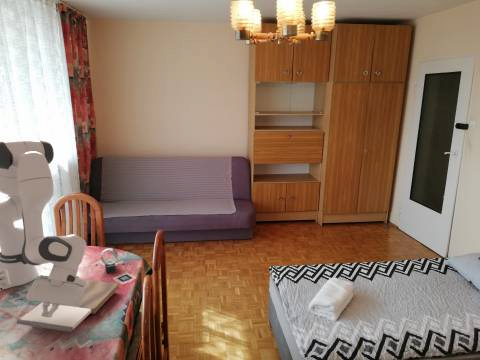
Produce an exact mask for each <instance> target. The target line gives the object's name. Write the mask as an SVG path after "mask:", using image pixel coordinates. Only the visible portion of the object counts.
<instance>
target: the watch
mask: <svg viewBox="0 0 480 360" xmlns="http://www.w3.org/2000/svg"><path fill="white" fill-rule="evenodd" d="M108 251H109V252H110V253H111V255H112V256H113V257H114V258H115V259H114V260H110V261H106V259H104V257H103V254H104V253H106V252H108ZM118 259H119V254H118V252H117V251H116V249H115V248H114V247H108V248H107V247H106V248H105V249H103V250H102V251H101V253H100V260H101V262H102V263H103V264H104V268H105V273H106V274H109V273H115V272H116V262H118Z"/></svg>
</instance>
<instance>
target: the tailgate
mask: <svg viewBox="0 0 480 360" xmlns="http://www.w3.org/2000/svg"><path fill="white" fill-rule="evenodd" d="M42 305H43V302H40V303H39V304H38V305H37V306H35V307H34V308H33V309H31V310H30V311H28V312H27V313H26V314H24V315H23V316H21V317H20V318H18V319H17V320H16V324H17V325H21V326H29V327H35V328H43V329H49V330H56V331H61V332H68V333H71V332H72V331H73V330H74V329H76V328H77V326H78V325H79V324H81V322H83V321H84V320H85V319H86V318H87V317H88V316H89V315H91V314H90V313H91V309H88V308H80V307H71V306H64V305H59V307H58V309H57V310H56V311H55V312H54V313H53V315H52V317H51V318H50V317H43V316H42V312H43V307H42ZM51 308H52V304H50V306H49V307H48V311H50V310H51Z"/></svg>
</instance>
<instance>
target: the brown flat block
mask: <svg viewBox="0 0 480 360" xmlns="http://www.w3.org/2000/svg"><path fill="white" fill-rule="evenodd" d="M81 279H82V278H81ZM82 280H84V281H85V282H86V285H85V287H83V288H84V294H83V298H82V301H81V304H80V305H79V306H78V307H80V308H88V309H91V313H90V314H89V315H96V314H97V313H98V311H99V310H100V309H101V307H103V305H104V304H105V303H106V302H107V301H108V300H109V299H110V298H111V297H112V296H114V295H115V293H116V291H118V289H119V288H120V286H119V283H115V282H108V281H107V282H105V281H97V280H90V279H82Z"/></svg>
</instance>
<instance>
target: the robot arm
mask: <svg viewBox="0 0 480 360" xmlns="http://www.w3.org/2000/svg"><path fill="white" fill-rule="evenodd" d="M54 155H55V151H54V147H53V145H52V144H51V143H50V142H49V141H48V140H44V139H38V140H36V139H28V138H27V139H26V138H25V139H22V138H21V139H13V140H12V139H10V140H4V141H3V140H0V193H1V194H4V195H7V197H5V198H0V289H1V288H2V290H6V289H9V288H13V287H18V286H22V285H23V286H24V285H26V284H28V283H30V282H32V281H33V282H32V284H31V286H30V287H29V288H28V291H27V293H26V294H25V299H26V300H27V301H31V302H38V303H42V302H43V305H42V307H43V312H42V316H43V317H50V318H51V317H52V315H53V313H54V312H55V311H56V310H57V309H58V307H59V305H64V306H71V307H78V306H79V305H80V304H81V301H82V298H83V294H84V288H83V287H85V285H86V282H85V281H84V280H85V279H83V280H82V278H80V276H78V270H79V266H80V265H81V264H82V261H83V259H84V257H85V253H86V248H87V242H86V240H85V239H84V238H83V237H81V236H80V235H76V234H72V233H71V234H68V235H59V236H58V235H48V236H45V233H44V225H43V217H42V216H43V212H44V209H45V207H46V206H47V205H48V203H50V201H51V199H52V198H53V197H54V192H55V191H54V190H55V189H54V180H53V175H52V172H51V171H52V170H51V168H50V165H49V164H51V163H52V161H53V159H54ZM21 220H22V225H23V228H21V227H16V226H15V224H14V223H15V222H18V221H21ZM48 263H49V264H52V268H51V270H50V272H49V275H43V274H42V275H39V272H38V267H37V266H40V265H41V266H42V265H43V264H48ZM50 304H52V308H51V310H50V311H48V307H49V306H50Z"/></svg>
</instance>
